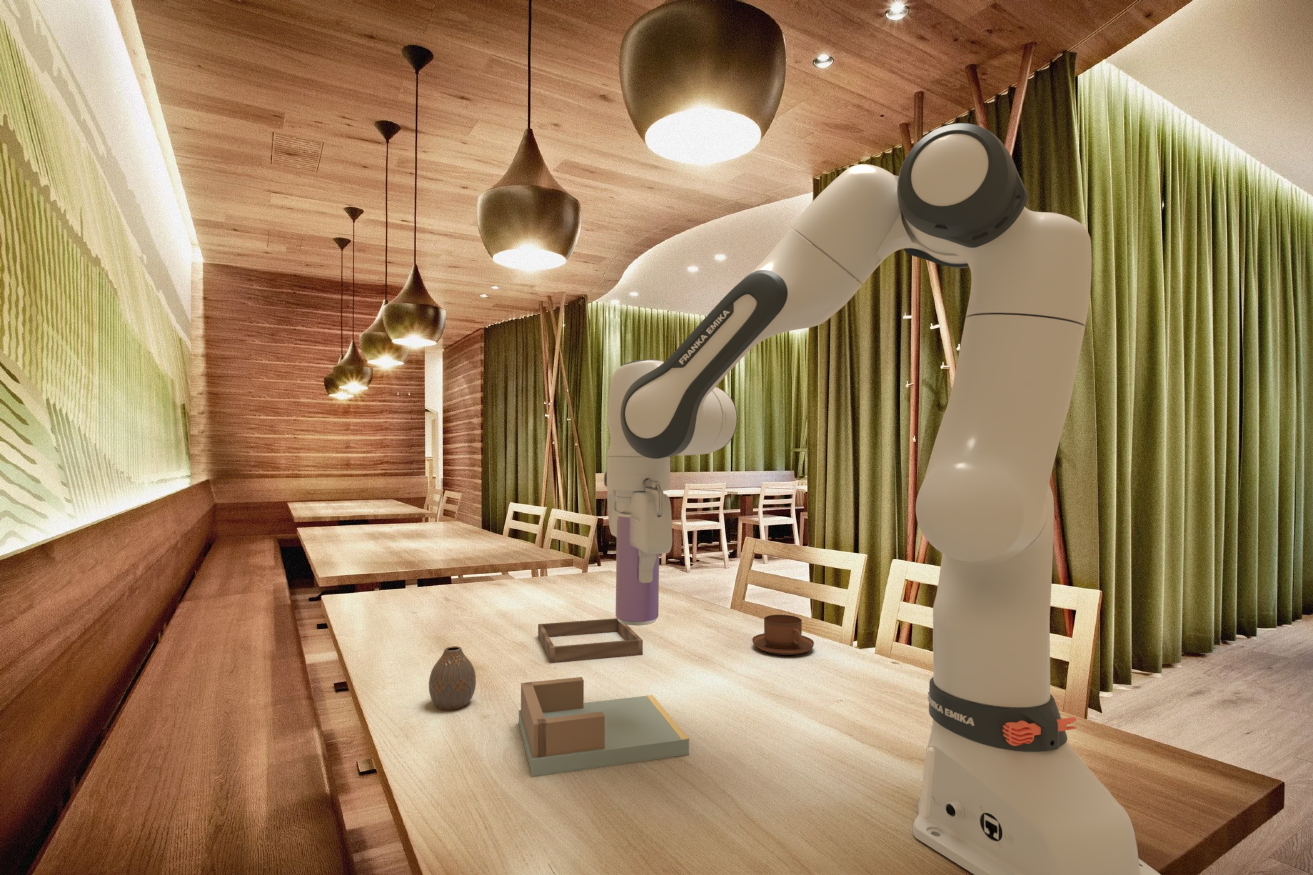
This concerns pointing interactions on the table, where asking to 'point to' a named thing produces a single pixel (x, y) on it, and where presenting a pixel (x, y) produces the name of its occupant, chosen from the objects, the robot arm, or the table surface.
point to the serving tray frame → (592, 650)
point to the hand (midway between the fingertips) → (637, 576)
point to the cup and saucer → (783, 636)
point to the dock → (592, 729)
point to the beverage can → (633, 581)
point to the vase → (452, 680)
